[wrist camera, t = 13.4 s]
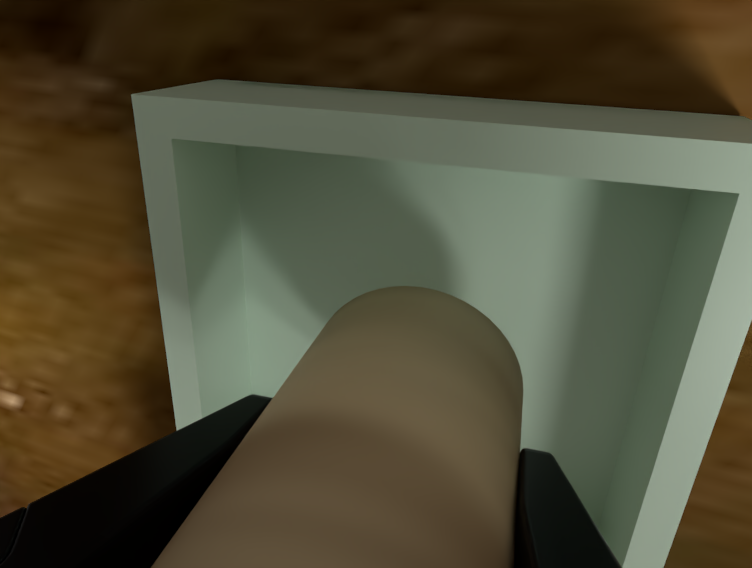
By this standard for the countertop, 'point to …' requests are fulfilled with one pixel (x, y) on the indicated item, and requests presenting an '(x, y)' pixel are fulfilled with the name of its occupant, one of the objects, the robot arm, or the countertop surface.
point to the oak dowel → (375, 449)
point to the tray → (467, 259)
